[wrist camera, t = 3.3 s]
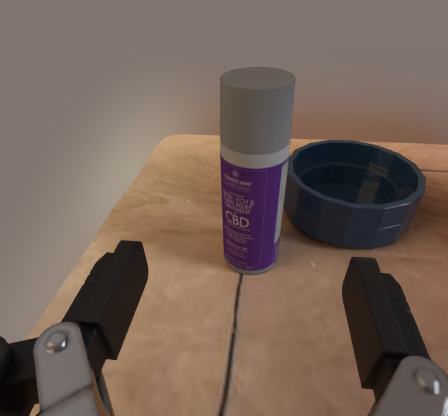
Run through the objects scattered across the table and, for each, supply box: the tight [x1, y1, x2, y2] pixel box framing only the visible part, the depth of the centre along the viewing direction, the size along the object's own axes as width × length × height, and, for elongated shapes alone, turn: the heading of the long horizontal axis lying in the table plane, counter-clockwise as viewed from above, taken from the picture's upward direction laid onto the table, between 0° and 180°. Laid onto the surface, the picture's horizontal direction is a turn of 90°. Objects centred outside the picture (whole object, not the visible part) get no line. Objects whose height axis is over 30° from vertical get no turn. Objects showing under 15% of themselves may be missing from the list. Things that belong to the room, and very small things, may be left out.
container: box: [220, 67, 296, 275], centre depth 23 cm, size 5×5×15 cm
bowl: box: [283, 140, 426, 249], centre depth 31 cm, size 12×12×5 cm
